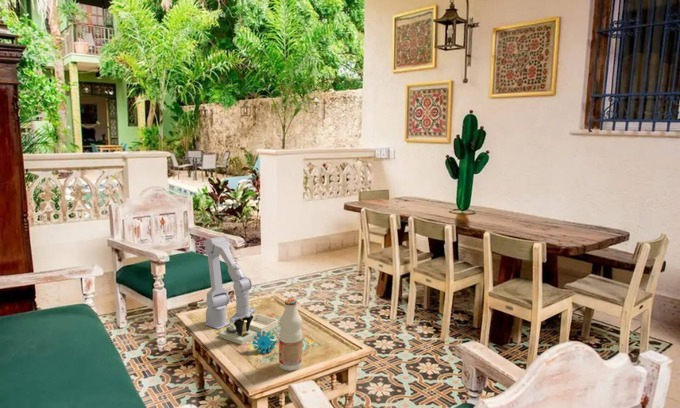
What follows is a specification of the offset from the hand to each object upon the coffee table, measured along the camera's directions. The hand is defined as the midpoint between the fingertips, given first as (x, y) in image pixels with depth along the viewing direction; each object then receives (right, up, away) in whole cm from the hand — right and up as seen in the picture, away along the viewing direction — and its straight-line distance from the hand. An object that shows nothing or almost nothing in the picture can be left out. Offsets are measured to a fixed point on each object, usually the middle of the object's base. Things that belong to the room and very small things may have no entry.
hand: (242, 332), depth 214 cm
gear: (+12, -5, -10) cm, 16 cm away
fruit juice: (+24, -8, -22) cm, 34 cm away
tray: (+5, -1, +12) cm, 13 cm away
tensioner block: (-3, -2, +2) cm, 4 cm away
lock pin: (0, -3, +1) cm, 3 cm away
